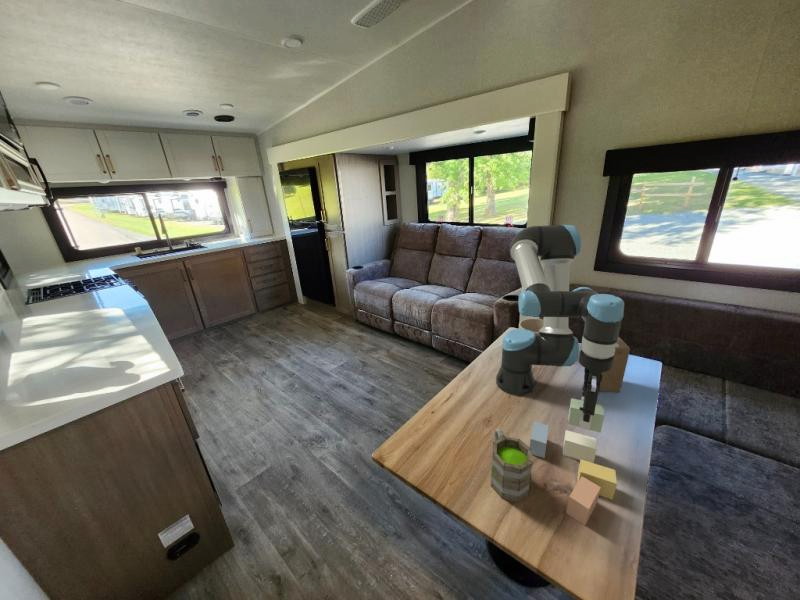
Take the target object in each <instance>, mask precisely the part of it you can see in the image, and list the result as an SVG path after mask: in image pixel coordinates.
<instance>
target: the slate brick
mask: <svg viewBox="0 0 800 600" xmlns="http://www.w3.org/2000/svg"><path fill="white" fill-rule="evenodd" d="M548 435H549V425H548V424H544V423H541V422H538V421H533V424H532V429H531V434H530V441H529V447H530V448H531V449H532V456H536V457H539V458H542V459H545V458H546V449H547V445H548V444H547V443H548Z"/></svg>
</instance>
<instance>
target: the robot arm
mask: <svg viewBox="0 0 800 600" xmlns="http://www.w3.org/2000/svg"><path fill="white" fill-rule="evenodd" d="M581 248H582V238H581V234H580V231H579V229H578V228H577V227H576V226H575V225H573V224H558V225H557V224H553V225H531V226H528V227H526V228H523V229H522V230H520V231H519V232H517V234H516V235H515V236H514V237H513V239H512V240H511V242H510V245H509V252H510V257H511V259H513V261H514V262H515V265H516V270H517V273H518V277H519V280H520V284H521V288H522V291H521V292H519V295H518V300H517V301H518V312H519V313H520V315H521V316H524V317H530V318H543V320H544V326H543V327H542V328H541V329H540V330H539V335H535V334H534V333H533V332H532V331H530V330H526V329H519V328H517V329H513V330H512V329H511V330H510V331H508V332H506V333H504V336H503V337H502V343H501V348H502V351H501V365H500V367H499V369H498V371H497V374H496V375H495V376H496V377H495V384H496V385H497V387H498V388H499V389H500V390H501V391H503V392H505V393H507V394H510V395H514V396H526V395H529V394H531V393H532V392H533V391H535V388H536V386H535V385H536V381H535V377H534V373H533V371H532V370H533V366H546V367H549V366H550V367H551V366H552V367H558V368H559V367H571V366H573V365H574V364H575V363H576V361H577V359H578V362H579V364H580V366H582V367H583V368H584V371H583V373H584V375H583V385H582V388H581V390H582V393H581V395H582V396H581V399H580V400H581V401H584V403H583V408H582V407H580V410H581V415H580V421H579V427H578V428H580V429H583V430H586V431H591V430H590V426H591V421H592V416H594V414H595V413H594V412H595V407H596V404H597V403H598V401H597V400H598V396H599V392H600V391H599V390H600V382H601V381H602V375H601V373H602V372H607V371H609V370H610V369H611V368H612V364H613V359H614V357H613V356H614V353H615V347H619V344H616V343H617V339H618V337H619V336H620V335H619V334H620V330H621V327H622V322H623V318H624V313H625V312H624V310H625V301H624V300H623V299H622V298H621V297H619V296H616V295H613V294H608V293H599V292H598V291H595V290H593V289H592V288H590V287H586V286H579V287H577V288H575V289H573V290H571V291H570V269H571V268H570V265H571V264H572V263H573V262H574V261H575V257H576V256H578V255H579V254H580V253H581ZM539 258H540V259H539ZM542 264H543V266H544V270H543V267H542ZM569 318H580V319H581V320H582V321H583V322H584V328H583V333H582V338H581V343H580V344H579V340H578V338H577V337H576V336H574V335H573V334H574V333H573V331H572V330H571V329H570V327H569ZM579 352H580V353H579ZM578 356H579V358H578Z"/></svg>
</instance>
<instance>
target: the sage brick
mask: <svg viewBox="0 0 800 600" xmlns="http://www.w3.org/2000/svg"><path fill="white" fill-rule="evenodd" d="M583 403H584V401H581V399H576V398H570V405H569V409H568V421H567V423H568V424H567V425H571V426H575V427H578V428H579V421H580V415H581V410H580V407H582V408H583ZM594 413H595V414H594V416H592V421H591V426H590V430H589V431H593V432H596V433H600V434H601V432H602V429H603V428H602V427H603V424H604V417H605V408H604V405H601V404H598V403H596V407H595V412H594Z"/></svg>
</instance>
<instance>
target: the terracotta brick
mask: <svg viewBox="0 0 800 600" xmlns="http://www.w3.org/2000/svg"><path fill="white" fill-rule="evenodd" d="M600 489H601V487H599V486H598V485H596V484H594V483H593V482H591V481H589V480H588V479H586V478H584V477H583V476H582V477H581V478H580V480H579V482H578V481H577V484H576V485H575V486H574V487H573V490H572V492H571V493H570V494H569V497H568V502H567V507H566V511H565V513H566V514H567V515H569V516H570V517H572V518H573V519H575V520H576V521H577V522H579V523H580V524H582V525H583V526H586V525H587V523H588V521H589V519H590V517H591V515H592V513H593V512H594V510H595V508H596V506H597V504H598V500H599V496H600V495H599V493H600Z"/></svg>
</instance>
